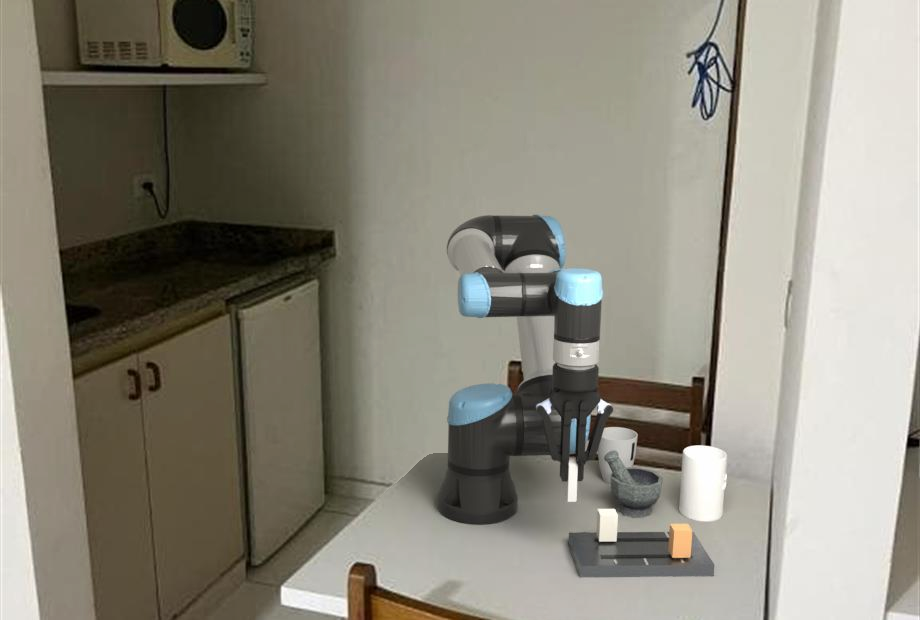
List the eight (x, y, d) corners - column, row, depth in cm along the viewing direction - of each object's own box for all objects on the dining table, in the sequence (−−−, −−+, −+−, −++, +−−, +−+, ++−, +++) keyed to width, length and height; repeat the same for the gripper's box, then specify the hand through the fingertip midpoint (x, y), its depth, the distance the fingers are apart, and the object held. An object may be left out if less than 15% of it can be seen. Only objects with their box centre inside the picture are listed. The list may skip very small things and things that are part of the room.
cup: (634, 489, 185) (637, 442, 182) (593, 485, 186) (596, 438, 184) (635, 473, 192) (637, 428, 190) (596, 470, 194) (598, 425, 192)
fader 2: (672, 557, 151) (674, 530, 150) (668, 550, 154) (669, 523, 153) (690, 557, 152) (692, 530, 151) (686, 550, 154) (687, 523, 153)
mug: (706, 494, 182) (710, 437, 180) (730, 521, 171) (735, 460, 168) (666, 496, 181) (669, 438, 179) (687, 522, 170) (692, 461, 167)
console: (579, 577, 150) (580, 565, 149) (568, 543, 161) (568, 532, 161) (713, 575, 151) (714, 564, 150) (692, 542, 162) (693, 531, 162)
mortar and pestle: (654, 500, 179) (658, 442, 177) (666, 521, 170) (670, 460, 168) (597, 500, 179) (599, 442, 176) (606, 522, 170) (609, 460, 167)
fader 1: (599, 541, 157) (600, 515, 156) (596, 534, 159) (597, 508, 158) (616, 541, 157) (617, 515, 156) (613, 534, 160) (614, 508, 158)
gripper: (539, 369, 147) (535, 507, 152) (620, 369, 148) (613, 507, 153) (533, 357, 155) (529, 489, 159) (610, 357, 155) (604, 489, 160)
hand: (570, 498), depth 156 cm, fingers closed
